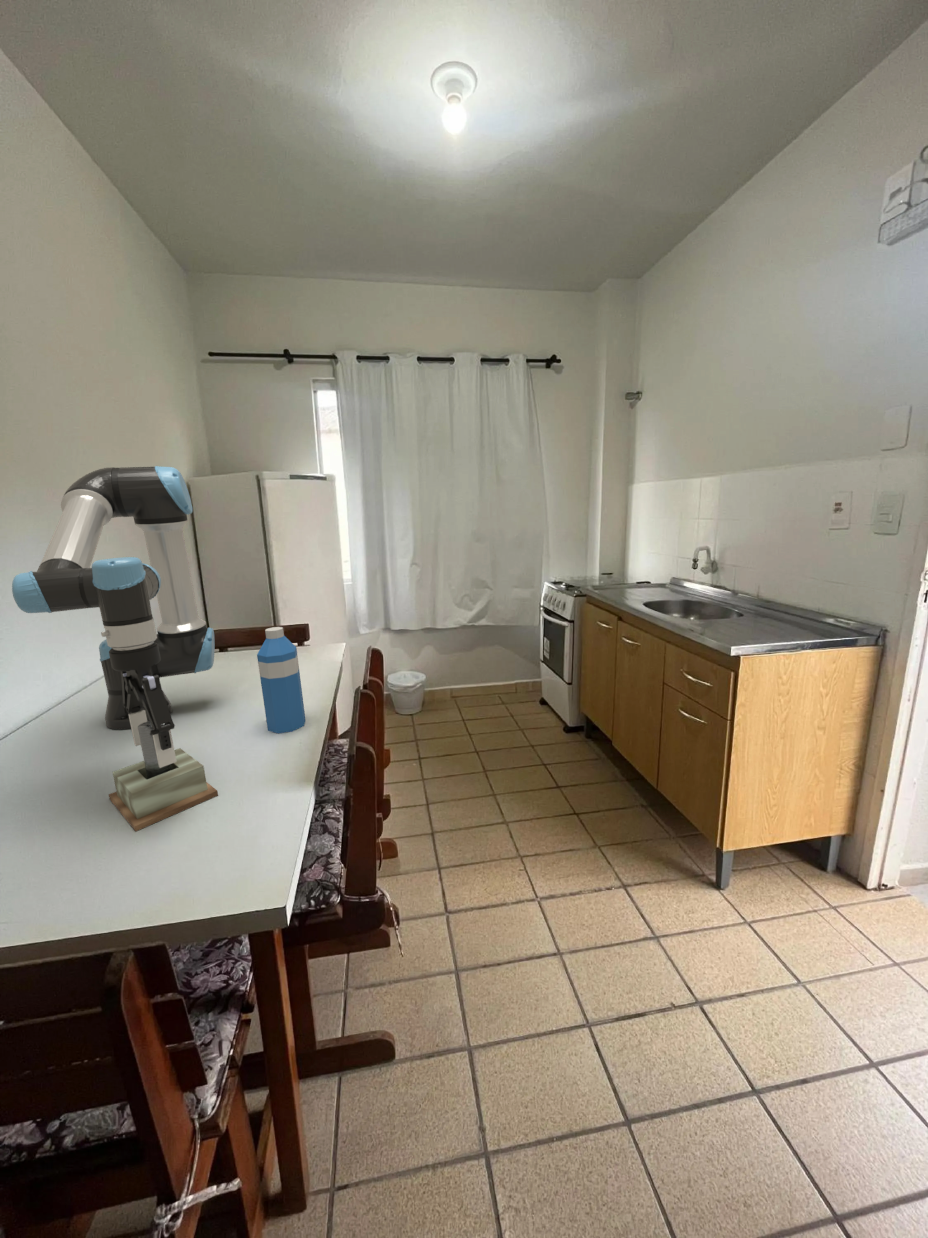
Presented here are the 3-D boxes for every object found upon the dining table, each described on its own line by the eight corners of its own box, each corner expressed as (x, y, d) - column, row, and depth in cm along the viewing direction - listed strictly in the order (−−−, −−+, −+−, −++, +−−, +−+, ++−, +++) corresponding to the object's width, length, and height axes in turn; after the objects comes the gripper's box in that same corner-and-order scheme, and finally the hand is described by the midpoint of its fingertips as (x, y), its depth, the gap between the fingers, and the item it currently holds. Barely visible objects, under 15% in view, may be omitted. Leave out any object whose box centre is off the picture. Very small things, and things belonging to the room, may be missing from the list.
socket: (109, 799, 99) (103, 770, 97) (186, 769, 109) (181, 743, 107) (135, 831, 88) (128, 800, 87) (218, 795, 98) (213, 766, 97)
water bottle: (294, 734, 123) (281, 634, 117) (259, 732, 125) (245, 633, 119) (313, 718, 132) (301, 624, 126) (280, 717, 134) (267, 624, 128)
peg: (147, 793, 98) (134, 725, 95) (170, 784, 101) (158, 718, 98) (154, 800, 95) (141, 730, 92) (177, 791, 98) (165, 723, 95)
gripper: (90, 639, 97) (112, 742, 102) (130, 662, 81) (155, 783, 85) (135, 631, 102) (154, 729, 107) (181, 650, 86) (202, 765, 91)
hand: (154, 753), depth 96 cm, fingers open, 13 cm apart
